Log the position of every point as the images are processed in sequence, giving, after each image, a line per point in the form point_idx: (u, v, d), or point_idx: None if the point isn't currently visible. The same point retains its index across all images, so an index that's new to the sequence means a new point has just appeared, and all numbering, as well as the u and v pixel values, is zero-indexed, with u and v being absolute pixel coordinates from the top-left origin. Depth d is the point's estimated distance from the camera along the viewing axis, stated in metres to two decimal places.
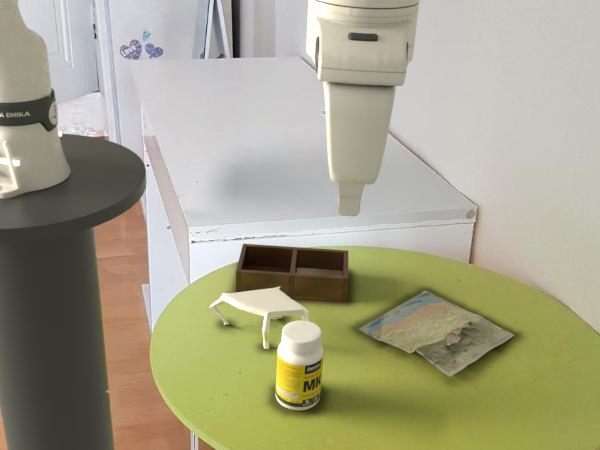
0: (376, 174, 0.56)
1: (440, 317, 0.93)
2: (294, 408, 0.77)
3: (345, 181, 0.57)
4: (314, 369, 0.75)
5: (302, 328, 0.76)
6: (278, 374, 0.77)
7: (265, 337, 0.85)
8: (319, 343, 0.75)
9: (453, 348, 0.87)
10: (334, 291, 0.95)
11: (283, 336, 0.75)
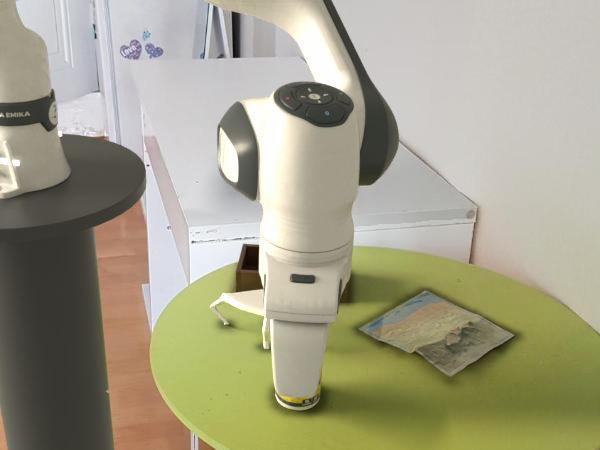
0: (314, 392, 0.66)
1: (440, 317, 0.93)
2: (294, 408, 0.77)
3: (288, 396, 0.67)
4: None
5: None
6: None
7: (265, 337, 0.85)
8: None
9: (453, 348, 0.87)
10: None
11: None
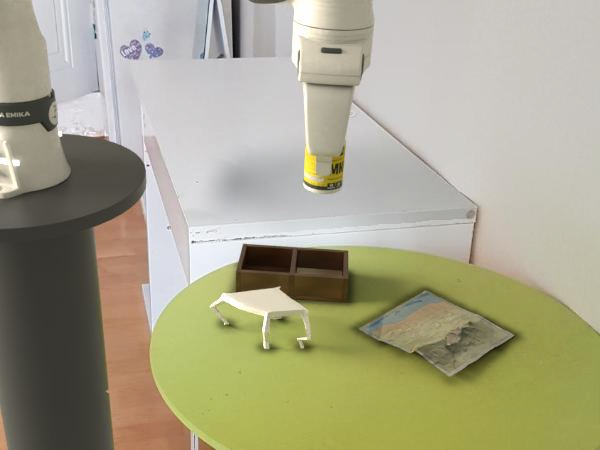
0: (340, 149, 0.78)
1: (440, 317, 0.93)
2: (320, 191, 0.89)
3: (318, 154, 0.78)
4: None
5: None
6: (306, 161, 0.88)
7: (265, 337, 0.85)
8: None
9: (453, 348, 0.87)
10: (334, 291, 0.95)
11: None
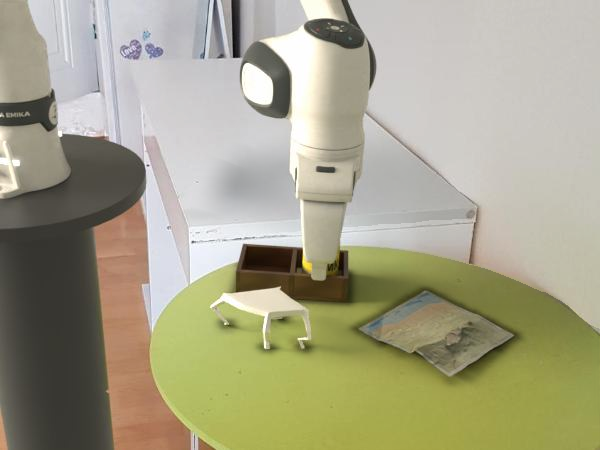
0: (334, 258, 0.86)
1: (440, 317, 0.93)
2: None
3: (314, 262, 0.86)
4: None
5: None
6: (304, 259, 0.96)
7: (266, 337, 0.85)
8: None
9: (453, 348, 0.87)
10: (334, 291, 0.95)
11: None
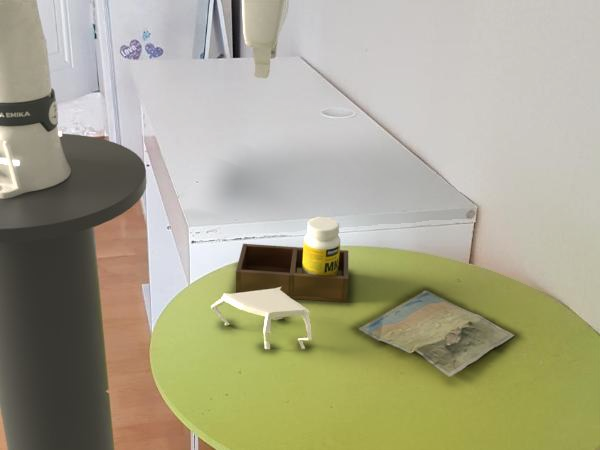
0: (274, 40, 0.86)
1: (440, 317, 0.93)
2: None
3: (254, 45, 0.87)
4: (333, 253, 0.95)
5: (323, 221, 0.96)
6: (304, 259, 0.96)
7: (266, 337, 0.85)
8: (337, 232, 0.95)
9: (453, 348, 0.87)
10: (334, 291, 0.95)
11: (309, 226, 0.95)
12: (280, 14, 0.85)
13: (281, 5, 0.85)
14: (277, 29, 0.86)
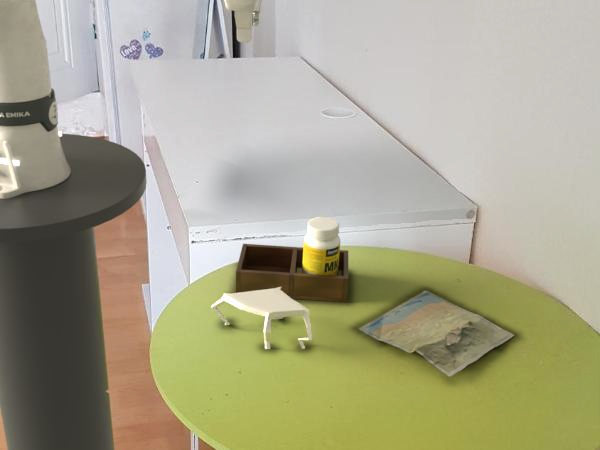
0: (253, 2, 0.88)
1: (440, 317, 0.93)
2: None
3: (234, 8, 0.89)
4: (333, 253, 0.95)
5: (323, 221, 0.96)
6: (304, 259, 0.96)
7: (266, 337, 0.85)
8: (337, 232, 0.95)
9: (453, 348, 0.87)
10: (334, 291, 0.95)
11: (309, 226, 0.95)
12: None
13: None
14: None
